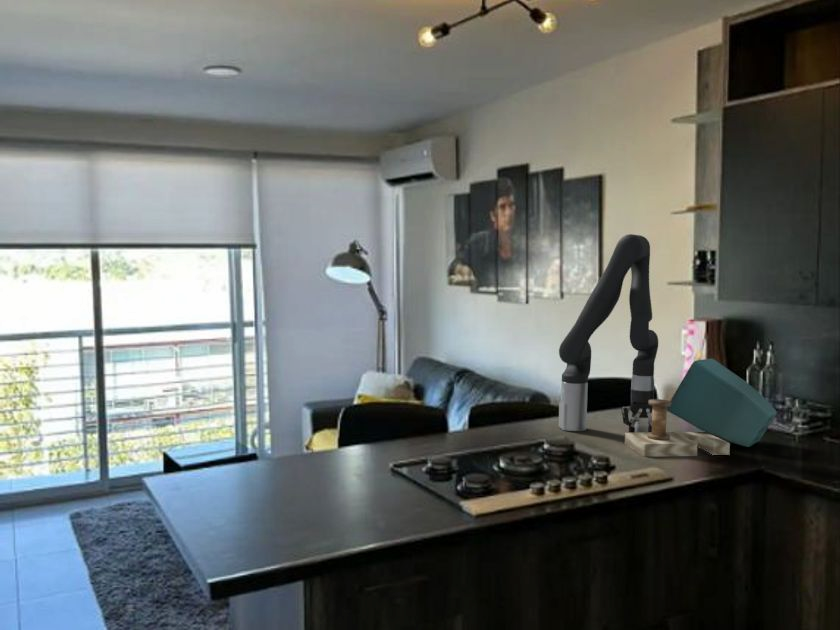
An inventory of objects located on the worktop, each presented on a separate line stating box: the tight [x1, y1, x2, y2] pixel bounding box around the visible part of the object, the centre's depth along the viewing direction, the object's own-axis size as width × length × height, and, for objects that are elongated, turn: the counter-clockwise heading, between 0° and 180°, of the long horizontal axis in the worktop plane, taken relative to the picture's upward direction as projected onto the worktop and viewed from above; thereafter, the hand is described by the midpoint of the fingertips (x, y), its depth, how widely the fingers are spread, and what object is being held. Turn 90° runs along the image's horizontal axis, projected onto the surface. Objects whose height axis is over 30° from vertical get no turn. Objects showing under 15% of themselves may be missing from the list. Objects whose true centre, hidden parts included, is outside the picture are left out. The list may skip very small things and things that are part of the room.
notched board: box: [624, 431, 731, 458], centre depth 244 cm, size 28×16×4 cm, turn 96°
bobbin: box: [647, 398, 671, 440], centre depth 243 cm, size 7×7×12 cm
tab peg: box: [634, 418, 649, 432], centre depth 257 cm, size 4×4×8 cm
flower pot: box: [667, 357, 778, 448], centre depth 255 cm, size 20×20×28 cm
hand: (640, 436), depth 257 cm, fingers open, 5 cm apart
